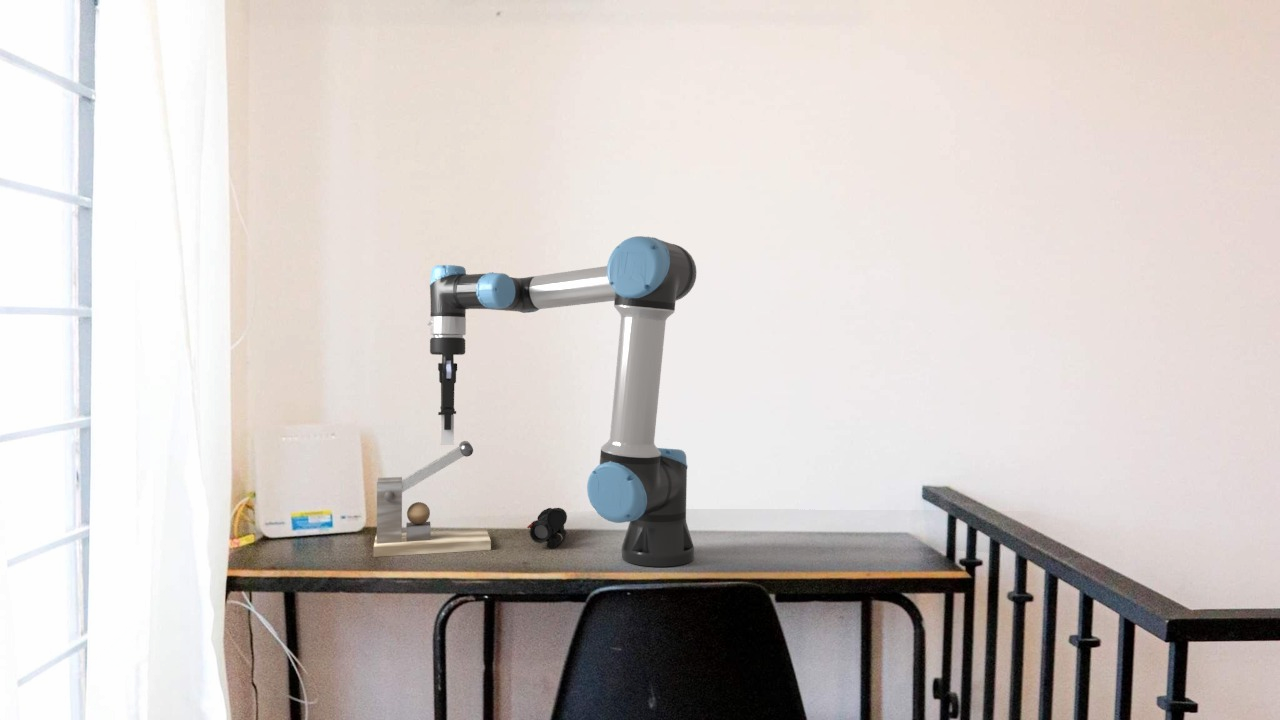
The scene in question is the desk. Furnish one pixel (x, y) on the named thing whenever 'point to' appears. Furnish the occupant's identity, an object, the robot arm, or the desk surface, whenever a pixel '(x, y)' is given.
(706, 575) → the desk surface
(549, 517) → the night vision scope
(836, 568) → the desk surface
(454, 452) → the lever
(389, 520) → the press base
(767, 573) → the desk surface
